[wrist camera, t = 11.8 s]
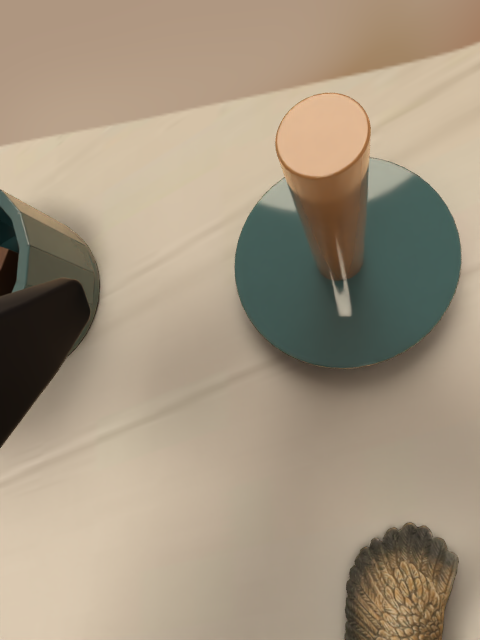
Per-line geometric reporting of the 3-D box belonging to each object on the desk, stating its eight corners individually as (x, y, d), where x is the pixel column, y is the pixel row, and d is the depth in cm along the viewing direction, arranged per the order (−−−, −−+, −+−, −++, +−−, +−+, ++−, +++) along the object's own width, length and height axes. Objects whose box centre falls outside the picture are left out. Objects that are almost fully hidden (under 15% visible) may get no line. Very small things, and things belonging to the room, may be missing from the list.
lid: (346, 415, 18) (333, 450, 8) (203, 276, 21) (65, 178, 11) (507, 251, 17) (710, 68, 7) (334, 132, 21) (312, -111, 11)
